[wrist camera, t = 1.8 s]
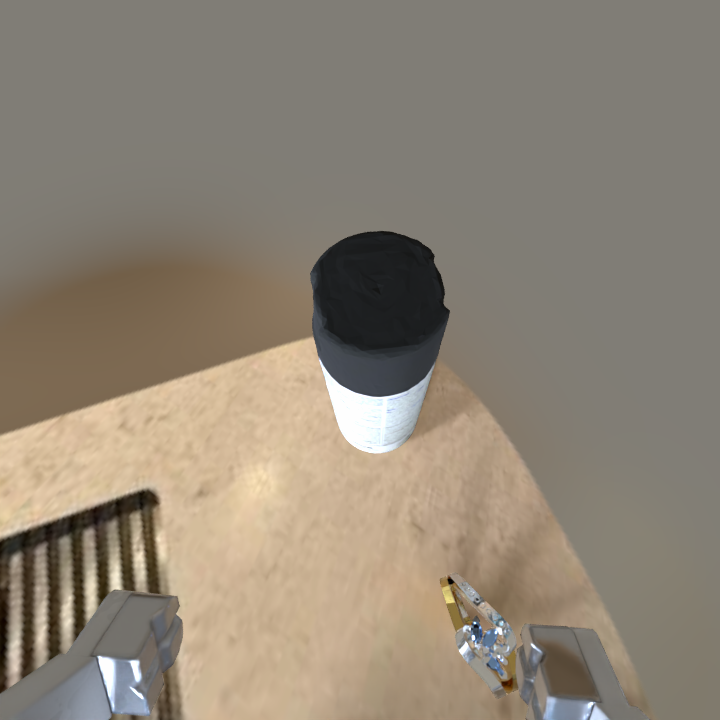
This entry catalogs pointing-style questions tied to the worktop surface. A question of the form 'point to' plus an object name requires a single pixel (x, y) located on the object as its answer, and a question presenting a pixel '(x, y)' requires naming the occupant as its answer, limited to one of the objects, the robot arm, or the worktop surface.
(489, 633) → the ring
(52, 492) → the worktop surface
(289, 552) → the worktop surface
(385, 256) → the spray can
